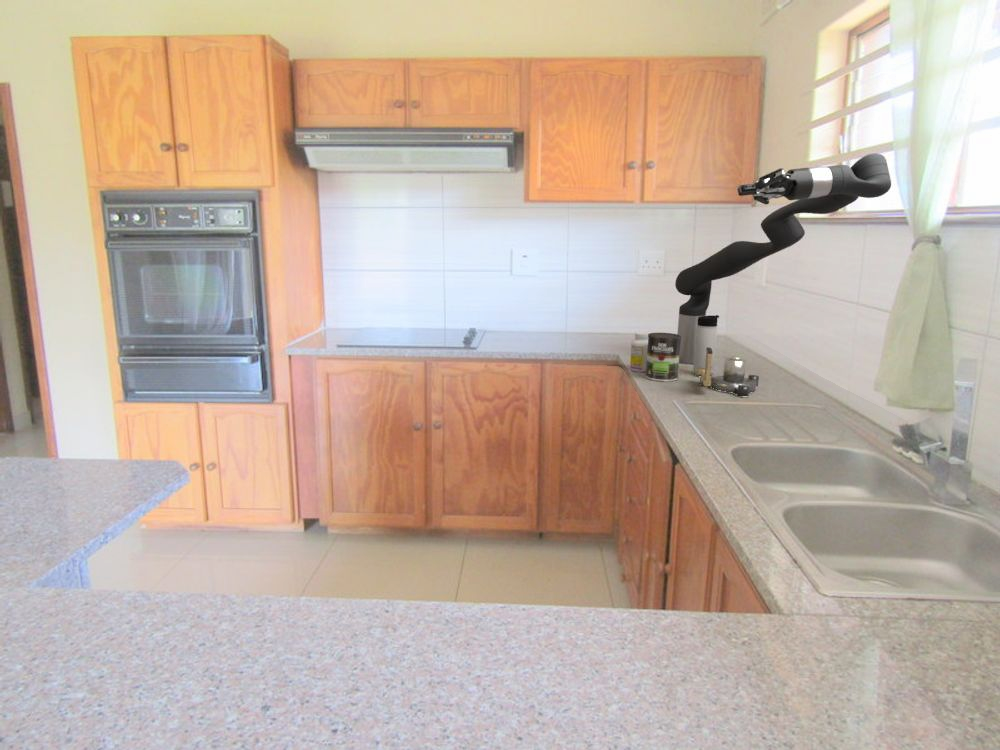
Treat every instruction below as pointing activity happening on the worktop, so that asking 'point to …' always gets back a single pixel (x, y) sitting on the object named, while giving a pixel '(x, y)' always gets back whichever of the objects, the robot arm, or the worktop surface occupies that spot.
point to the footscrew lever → (706, 369)
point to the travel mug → (705, 341)
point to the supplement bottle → (639, 352)
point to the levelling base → (731, 386)
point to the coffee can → (663, 356)
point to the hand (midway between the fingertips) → (738, 190)
